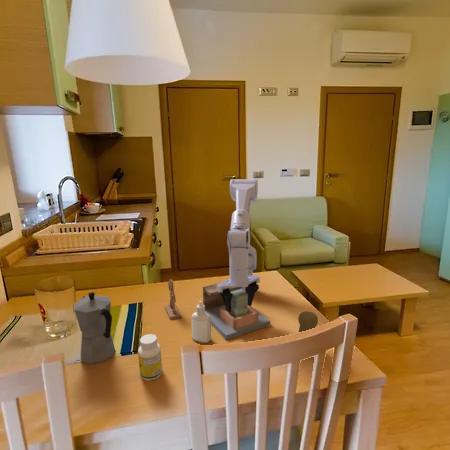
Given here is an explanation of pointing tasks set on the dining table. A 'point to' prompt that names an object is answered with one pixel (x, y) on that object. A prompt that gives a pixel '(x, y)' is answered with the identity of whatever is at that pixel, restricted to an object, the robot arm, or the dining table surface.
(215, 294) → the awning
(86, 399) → the dining table surface
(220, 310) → the socket stand
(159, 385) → the dining table surface
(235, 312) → the peg
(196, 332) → the eye dropper bottle
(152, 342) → the supplement bottle
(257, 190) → the robot arm
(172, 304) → the brown statuette
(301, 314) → the olive rounded piece
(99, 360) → the coffeepot
